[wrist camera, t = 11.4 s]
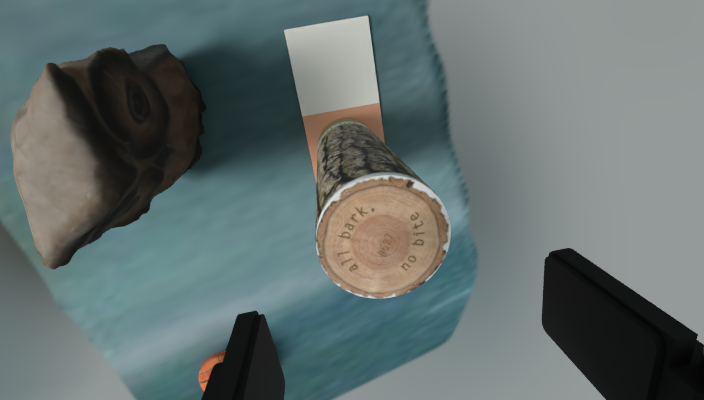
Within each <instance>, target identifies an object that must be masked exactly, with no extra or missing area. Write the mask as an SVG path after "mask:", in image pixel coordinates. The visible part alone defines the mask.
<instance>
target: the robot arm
mask: <svg viewBox="0 0 704 400" xmlns="http://www.w3.org/2000/svg"><path fill="white" fill-rule="evenodd" d="M542 307H543V308H542V325H543V328H544V330H545V331H546V333H547V334H548V335H549V336H550V337H551V339H552V340H553V341H554V342H555V343H556V344H557V345H558V346H559V347H560V349H561V350H562V351H563V352H564V353H565V354H566V355H567V356H568V358H569V359H570V360H571V361H572V362H573V363H574V364H575V365H576V367H577V368H578V369H579V370H580V371H581V372H582V373H583V374H584V375H585V377H586V378H587V379H588V380H589V381H590V382H591V383H592V384H593V386H594V387H596V389H597V390H598V391H599V392H600V393H601V394H602V396H603V397H604V398H605V399H606V400H704V345H703V344H702V343H700V342H699V341H697V340H696V339H697V336H698V334H696V333H695V332H693V331H692V330H690V329H689V328H687V327H686V326H685V325H683V324H682V323H680V322H679V321H677V320H676V319H674V318H673V317H671V316H670V315H668V314H667V313H665V312H664V311H662V310H661V309H659V308H658V307H656V306H655V305H654V304H652V303H651V302H649V301H648V300H646V299H645V298H643V297H642V296H640V295H639V294H637V293H636V292H635V291H633V290H632V289H630V288H629V287H627V286H626V285H624V284H623V283H621V282H620V281H618V280H617V279H615V278H614V277H612V276H611V275H610V274H608V273H606V272H605V271H604V270H602V269H601V268H599V267H598V266H596V265H595V264H593V263H592V262H590V261H589V260H588V259H586V258H584V257H583V256H582V255H580V254H579V253H577V252H576V251H574V250H573V249H571V248H566V249H561V250H556V251H552V252H550V253H549V257H546V259H545V266H544V286H543V306H542ZM284 391H285V380H284V375H283V372H282V368H281V365H280V362H279V359H278V356H277V353H276V350H275V346H274V343H273V340H272V337H271V334H270V331H269V328H268V325H267V321H266V318H265V316H264V314H261V315H259V314H258V312H257V311H252V312H247V313H243V314H239V315H238V316H237V318H236V321H235V324H234V327H233V331H232V334H231V337H230V340H229V343H228V346H227V349H226V352H225V355H224V358H223V362H220V363H216V364H215V365H214V366H213V369H212V371H211V374H210V376H209V379H208V382H207V385H206V388H205V391H204V394H203V397H202V399H201V400H284Z"/></svg>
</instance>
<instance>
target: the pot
mask: <svg viewBox="0 0 704 400" xmlns="http://www.w3.org/2000/svg"><path fill="white" fill-rule="evenodd" d="M225 352H226V351H222V352H219V353H216V354H214V355H213V356H211V357H210V358H208V359H207V360H206V361H205V362H204V363H203V364H202V366H201V368H200V371H199V383H200V386H201V388H202V390H203V391H205V388H206V385H207V382H208V379H209V376H210V374H211V371H212V369H213V366H214V365H215V364H216V363H220V362H223V358H224V355H225Z"/></svg>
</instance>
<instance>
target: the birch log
mask: <svg viewBox="0 0 704 400" xmlns="http://www.w3.org/2000/svg"><path fill="white" fill-rule="evenodd" d="M450 236H451V227H450V220H449V217H448V214H447V211H446V209H445V207H444V205H443V203H442V202H441V200H440V199H439V198H438V196H437V195H436V194H435V193H434V192H433V190H432V189H431V188H430V187H429V186H428V185H427V184H426V183H424V182H423V181H422V180H421V179H420V178H419V177H418V176H417V175H416V174H415V173H414V172H413V171H412V170H411V169H410V168H409V167H408V166H407V165H406V164H405V163H404V162H403V161H402V160H401V159H400V158H399V157H398V156H397V155H396V154H395V153H394V152H393V151H392V150H391V149H390V148H389V147H388V146H387V145H386V144H385V143H384V142H383V141H382V140H381V139H380V138H379V137H377V136H376V135H375V134H374V133H373V132H372V131H371V130H370V129H369V128H368V127H367V126H366V125H365V124H363V123H362V122H360V121H358V120H355V119H351V118H342V119H338V120H335V121H333V122H331V123H330V124H328V125H327V126H326V127H325V128H324V129H323V131H322V132H321V134H320V136H319V139H318V145H317V183H316V237H315V239H316V249H317V254H318V258H319V261H320V263H321V265H322V267H323V269H324V271H325V272H326V274H327V275H328V276H329V278H330V279H331V280H332V281H333V282H334V283H336V284H337V285H338V286H339V287H341V288H342V289H344V290H346V291H348V292H350V293H352V294H355V295H358V296H361V297H367V298H390V297H395V296H399V295H402V294H405V293H407V292H410V291H412V290H414V289H415V288H417V287H419V286H420V285H422V284H423V283H425V282H426V281H427V280H428V279H429V278H430V277H431V276H432V275H433V274H434V273H435V272H436V271H437V270H438V268H439V267H440V265H441V264H442V262H443V260H444V258H445V256H446V254H447V251H448V248H449V244H450Z"/></svg>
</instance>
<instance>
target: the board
mask: <svg viewBox="0 0 704 400" xmlns="http://www.w3.org/2000/svg"><path fill="white" fill-rule="evenodd" d="M284 33H285V38H286V42H287V47H288V52H289V56H290V61H291V66H292V71H293V75H294V80H295V85H296V90H297V94H298V99H299V104H300V108H301V113H302V118H303V123H304V127H305V132H306V137H307V142H308V146H309V151H310V156H311V160H312V165H313V170H314V175H315V179H316V183H317V145H318V139H319V136H320V134H321V132H322V131H323V129H324V128H325V127H326V126H327V125H328V124H330V123H331V122H333V121H335V120H338V119H342V118H351V119H355V120H358V121H360V122H362V123H363V124H365V125H366V126H367V127H368V128H369V129H370V130H371V131H372V132H373V133H374V134H375V135H376V136H377V137H379V138H380V139H381V140H382V141H383V142H384V143H385V140H384V132H383V125H382V117H381V110H380V102H379V95H378V87H377V80H376V72H375V64H374V57H373V49H372V42H371V34H370V27H369V19H368V16H362V17H356V18H350V19H344V20H339V21H333V22H327V23H321V24H315V25H310V26H304V27H298V28H292V29H286V30H284Z"/></svg>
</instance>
